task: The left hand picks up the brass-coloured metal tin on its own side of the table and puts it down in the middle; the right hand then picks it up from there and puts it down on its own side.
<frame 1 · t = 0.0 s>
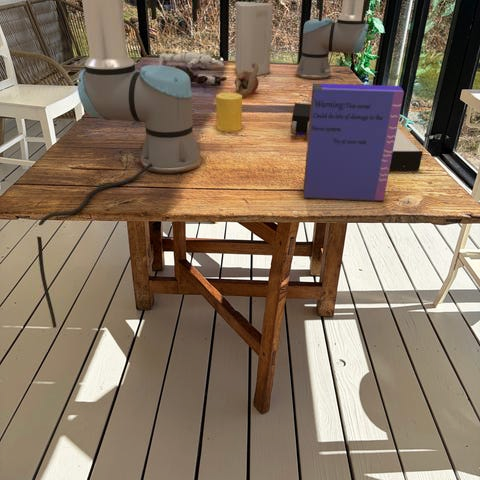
left hand: (174, 20, 152), 28 cm above the table, tool pointing down, fingers open, 13 cm apart
right hand: (340, 21, 155), 28 cm above the table, tool pointing down, fingers open, 13 cm apart
figurine: (189, 85, 195), on the table
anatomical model: (245, 94, 184), on the table
figurine character: (301, 133, 144), on the table
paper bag: (253, 72, 218), on the table
tin: (229, 127, 149), on the table
disc drive: (372, 155, 130), on the table
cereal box: (342, 195, 108), on the table
toy: (192, 68, 223), on the table
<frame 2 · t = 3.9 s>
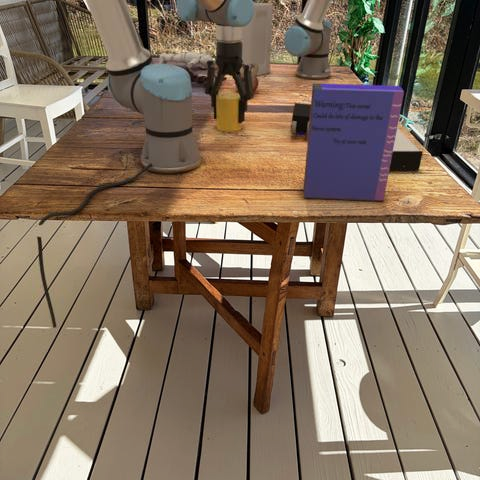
left hand: (229, 119, 147), 3 cm above the table, tool pointing down, fingers closed on tin, 8 cm apart
tin: (229, 127, 149), on the table, touching left hand
everything else where it was.
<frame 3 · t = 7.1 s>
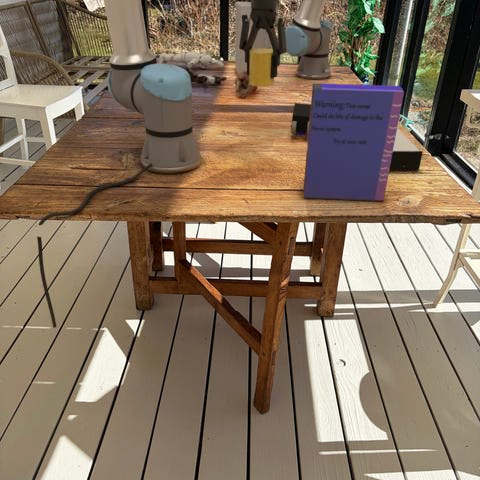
left hand: (261, 75, 149), 14 cm above the table, tool pointing down, fingers closed on tin, 8 cm apart
tin: (261, 83, 150), point 12 cm above the table, touching left hand
everything else where it was.
when the left hand's fingers open (4 cm above the table, at t = 10.1 s): tin drops 2 cm, on the table.
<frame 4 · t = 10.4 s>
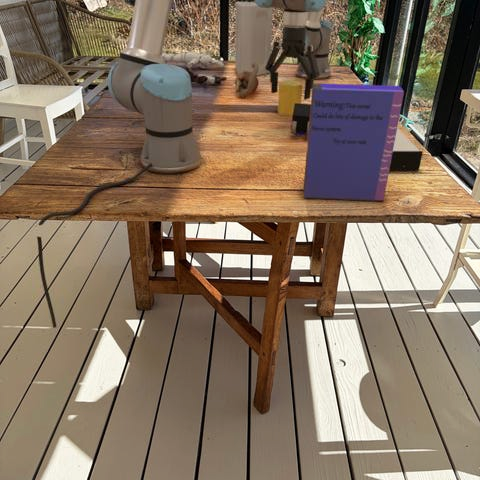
left hand: (290, 95, 161), 6 cm above the table, tool pointing down, fingers open, 12 cm apart
tin: (289, 112, 164), on the table
everything else where it was.
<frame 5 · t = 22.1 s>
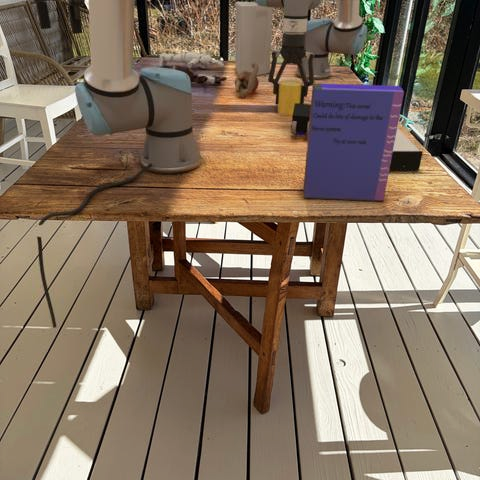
left hand: (61, 31, 128), 28 cm above the table, tool pointing down, fingers open, 13 cm apart
right hand: (289, 104, 163), 3 cm above the table, tool pointing down, fingers closed on tin, 8 cm apart
tin: (289, 112, 164), on the table, touching right hand
everything else where it was.
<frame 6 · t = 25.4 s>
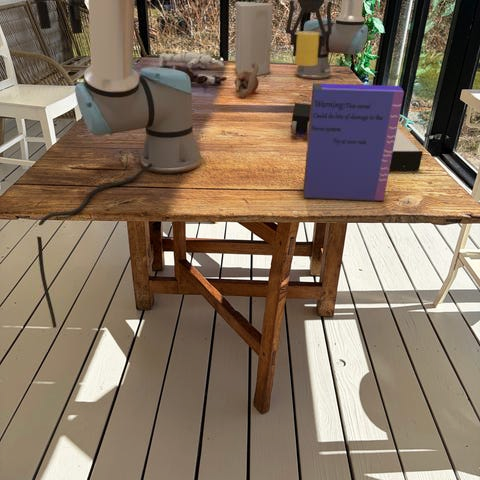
left hand: (61, 31, 128), 28 cm above the table, tool pointing down, fingers open, 13 cm apart
right hand: (306, 55, 163), 17 cm above the table, tool pointing down, fingers closed on tin, 8 cm apart
tin: (306, 63, 164), point 14 cm above the table, touching right hand
everything else where it was.
when the right hand's fingers open (4 cm above the table, at t = 28.6 s): tin drops 2 cm, on the table.
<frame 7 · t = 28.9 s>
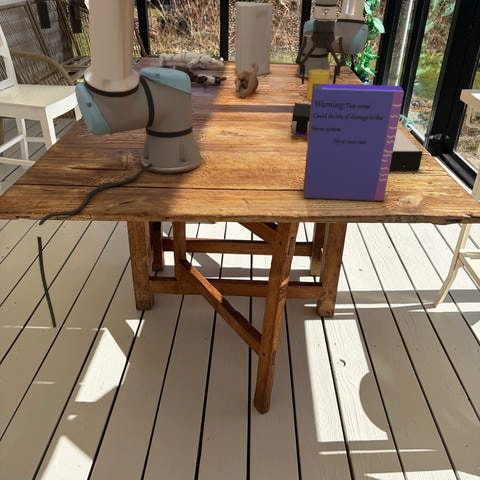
left hand: (61, 31, 128), 28 cm above the table, tool pointing down, fingers open, 13 cm apart
right hand: (318, 84, 178), 5 cm above the table, tool pointing down, fingers open, 11 cm apart
tin: (317, 98, 180), on the table
everything else where it was.
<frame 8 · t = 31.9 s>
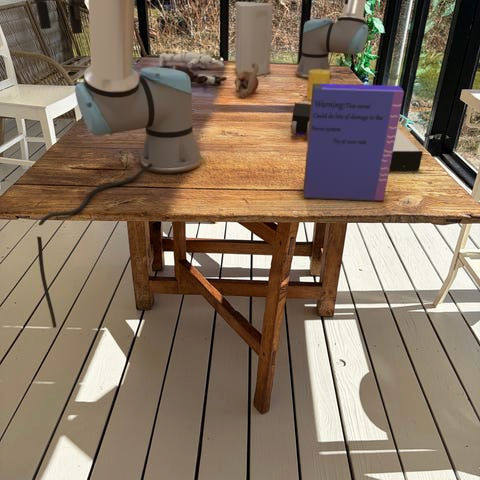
left hand: (61, 31, 128), 28 cm above the table, tool pointing down, fingers open, 13 cm apart
right hand: (326, 3, 164), 32 cm above the table, tool pointing down, fingers open, 13 cm apart
nothing on the table moved.
at the end: tin inside the target area (0.0 cm from its centre), on the table; tin tilted 0°; the two hands never held the tin at the same time; the left hand is holding nothing; the right hand is holding nothing; tin at rest at the end (0.0 cm/s) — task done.
